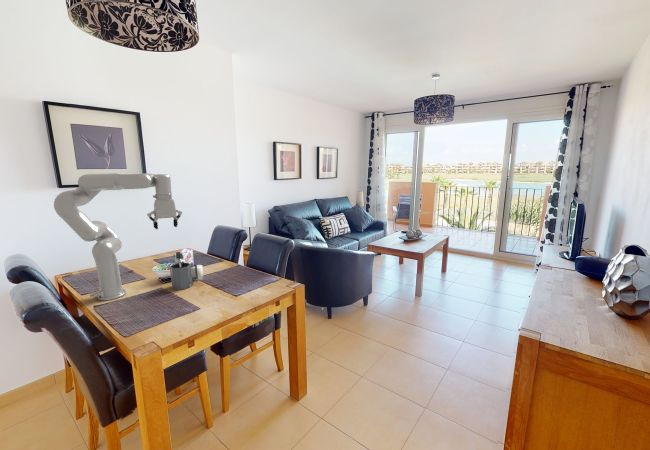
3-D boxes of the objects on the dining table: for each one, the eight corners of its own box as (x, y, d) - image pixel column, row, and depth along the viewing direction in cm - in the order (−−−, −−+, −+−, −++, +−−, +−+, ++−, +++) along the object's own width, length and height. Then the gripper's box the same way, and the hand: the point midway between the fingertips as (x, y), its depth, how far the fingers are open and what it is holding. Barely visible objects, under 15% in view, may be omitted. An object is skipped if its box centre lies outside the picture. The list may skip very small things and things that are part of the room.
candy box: (185, 279, 180) (182, 254, 177) (175, 278, 181) (173, 254, 177) (195, 271, 194) (193, 248, 191) (186, 271, 194) (184, 248, 191)
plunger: (177, 288, 164) (173, 255, 160) (173, 284, 169) (169, 252, 165) (191, 284, 169) (188, 252, 165) (186, 280, 174) (183, 249, 170)
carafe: (176, 291, 162) (173, 269, 159) (170, 286, 169) (167, 265, 167) (201, 284, 172) (199, 264, 169) (194, 279, 179) (192, 260, 176)
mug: (193, 281, 176) (192, 269, 174) (188, 277, 183) (187, 265, 181) (205, 278, 181) (204, 266, 179) (199, 274, 187) (198, 263, 186)
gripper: (147, 198, 147) (150, 230, 150) (183, 197, 159) (184, 227, 162) (143, 197, 152) (146, 228, 155) (178, 196, 164) (180, 225, 167)
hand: (166, 227), depth 159 cm, fingers open, 9 cm apart
